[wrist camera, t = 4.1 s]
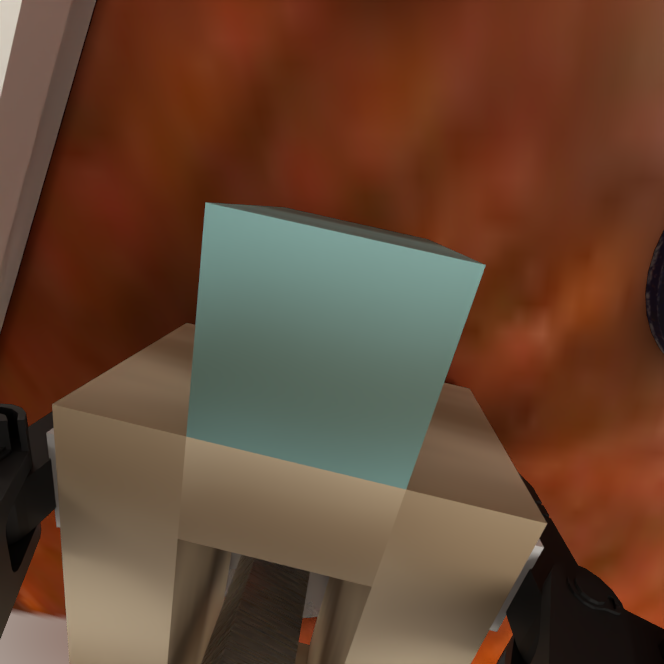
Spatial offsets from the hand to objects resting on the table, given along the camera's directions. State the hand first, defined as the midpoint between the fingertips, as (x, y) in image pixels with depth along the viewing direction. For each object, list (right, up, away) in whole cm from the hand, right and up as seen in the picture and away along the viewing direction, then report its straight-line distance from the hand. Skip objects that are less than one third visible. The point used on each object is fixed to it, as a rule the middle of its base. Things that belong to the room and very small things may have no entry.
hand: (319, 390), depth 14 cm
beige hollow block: (-1, -4, -1) cm, 4 cm away
